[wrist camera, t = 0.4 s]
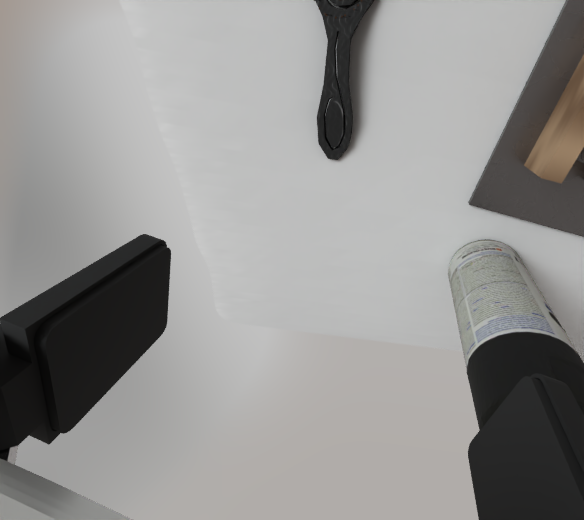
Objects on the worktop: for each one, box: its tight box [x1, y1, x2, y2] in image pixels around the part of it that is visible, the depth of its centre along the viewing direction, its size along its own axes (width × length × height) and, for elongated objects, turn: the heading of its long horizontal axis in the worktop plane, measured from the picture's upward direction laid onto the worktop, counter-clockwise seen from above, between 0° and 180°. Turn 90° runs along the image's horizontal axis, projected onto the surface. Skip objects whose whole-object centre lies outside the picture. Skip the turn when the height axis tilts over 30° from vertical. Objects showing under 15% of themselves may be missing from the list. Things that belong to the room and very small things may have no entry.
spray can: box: [448, 240, 584, 430], centre depth 28 cm, size 7×7×20 cm
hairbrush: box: [314, 0, 374, 160], centre depth 29 cm, size 8×4×25 cm
